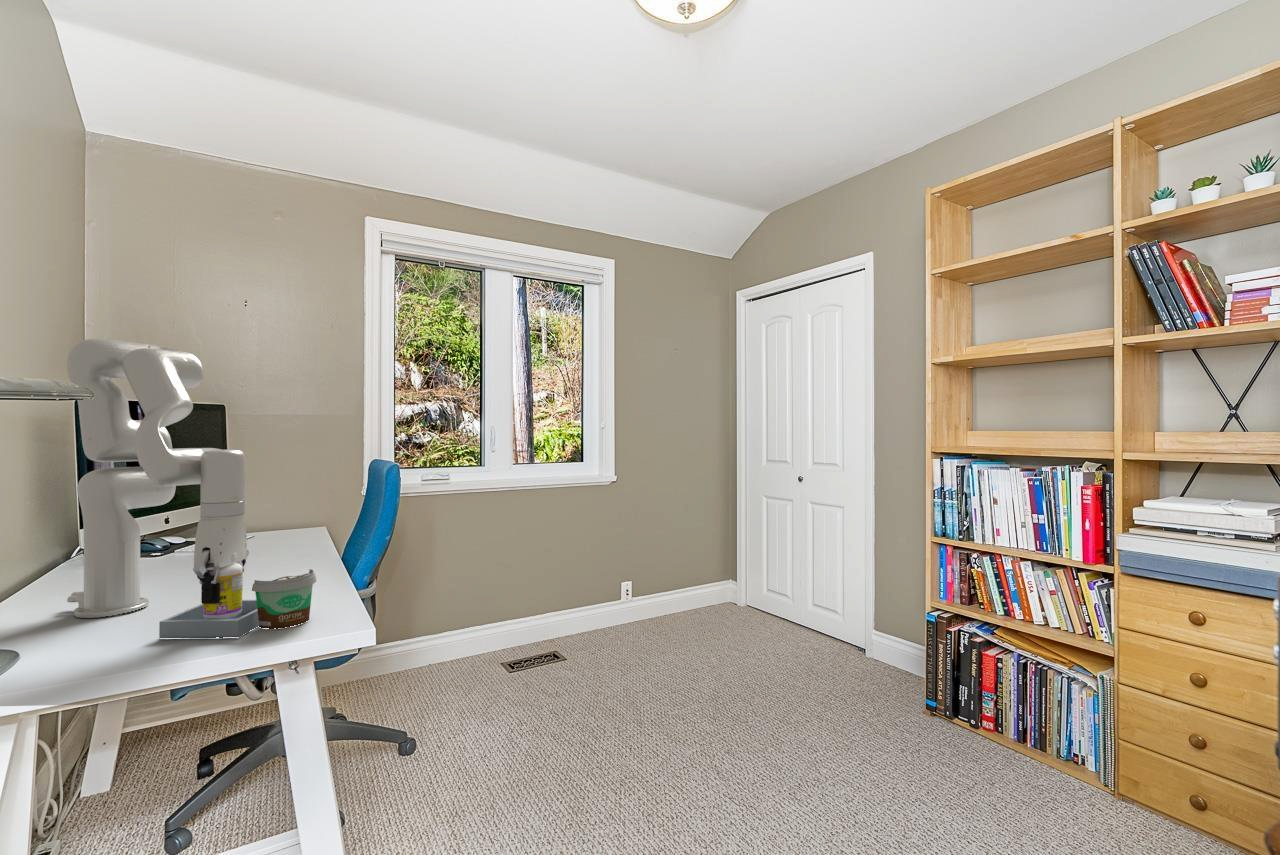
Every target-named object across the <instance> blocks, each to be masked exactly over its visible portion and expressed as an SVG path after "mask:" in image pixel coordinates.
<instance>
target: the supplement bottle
mask: <svg viewBox="0 0 1280 855" xmlns="http://www.w3.org/2000/svg"><path fill="white" fill-rule="evenodd" d="M236 558H237V553H233V554H232V557H231V561H232V562H231V564H230V565H228V566H226V567H224V568H221V570H220V574H219V578H218V581H217V583H220V602H219V603H217V604H203V617H204V618H205V619H208V620H220V619H227V618H231V617H234V616H237V615H238V614H240V613H241V611H242V600H243V578H242V574H243V573H244V572H243V571H242V566H241V565H240V564H238V563H236V561H235V559H236ZM209 567H214V565H210V566H209ZM213 572H214V571H209V573H210V574H211V575H212V576H213ZM242 572H243V573H242Z"/></svg>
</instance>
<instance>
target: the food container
mask: <svg viewBox="0 0 1280 855" xmlns="http://www.w3.org/2000/svg"><path fill="white" fill-rule="evenodd" d="M314 571H315V570H313V569H311V568H309V571H308V573H304V574H300V575H290V576H289V575H288V576H282V577H279V578H276V579H273V580H259V579H258V580H256V579H255V580H254V582H253V584H252V587H251V591H252V592H255V593H254V594H255V600H256V602H257V610H258V619H259V627H261V628H269V629H274V628H276V629H278V628H285V627H290V626H294V625H298V624H301V623H304V622H306V621H308V620H309V621H310V613H311V605H312V595H313V586H314V584H315V583H316V582H317V575H316V573H315V572H314ZM309 621H308V622H309ZM306 623H307V622H306ZM304 624H305V623H304ZM259 627H258V628H259ZM278 630H279V629H278Z"/></svg>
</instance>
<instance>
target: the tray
mask: <svg viewBox="0 0 1280 855" xmlns="http://www.w3.org/2000/svg"><path fill="white" fill-rule="evenodd" d="M258 626H259V619H258V610H257V602H256V599H242V611H241V613H240V614H238V615H237V616H234V617H231V618H227V619H220V620H208V619H205V618H204V617H203V604H202V603H200V604H198V605H195V606H193V607H191V608H188V609H186V610H184V611H180V612H179V613H177V614H175V615H172V616H170V617H167V618H164V619H163V620H160V621H159V628H158V630H159V632H158V633H159V636H158V638H216V637H219V638H223V637H240V636H242V635H243V634H245V633H247V632H249V631H250V630H252V629H254V628H256V627H258ZM258 628H259V627H258ZM256 629H257V628H256ZM249 633H250V632H249ZM242 637H243V636H242ZM240 638H241V637H240Z"/></svg>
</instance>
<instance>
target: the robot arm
mask: <svg viewBox="0 0 1280 855" xmlns="http://www.w3.org/2000/svg"><path fill="white" fill-rule="evenodd" d="M66 359H67V360H66V371H67V372H66V373H67V376H68V379H69V383H70V384H71V383H74V384H78V385H81V386H84V387H86V388H88V389H90V390H91V391H92V392H93V393H94V398H93V399H83V400H76V401H77V406H78V415H79V416H78V417H79V426H80V434H81V435H80V436H81V445H82V448H83V452H84V455H85V456H86V458H87V459H88V460H90V461H93V462H100V463H119V462H120V463H121V462H138V464H139V466H122V467H119V466H118V467H106V468H105V467H104V468H99V469H95V470H92V471H88V472H87V473H86V474H84V475H83V476H82V477H81V478H80V480H79V481H78V484H77V497H78V500H79V506H80V509H81V510H80V511H81V516H82V524H83V526H82V527H83V591H73V592H72V593H71V594H70V596H68V597H66V598H67V599H66V601H67V603H78V606H77V608H75V609H74V610H73V616H74V617H75V618H81V619H97V618H105V617H106V616H108V617H113V616H112V615H114V616H119V615H118V614H120V615H123V614H122V613H125V614H128V613H127V612H130V613H132V612H131V611H133V612H136V611H135V610H137V611H139V610H138V609H140V610H142V609H141V608H143V609H144V607H145V608H146V607H148V606H149V605H148V604H150V602H149V599H148V598H146V597H141V530H140V529H141V528H140V526H139V524H138V522H137V520H136V519H135V517H134V516H132V514H131V513H130V512H129V510H133V509H140V508H143V509H144V508H151V507H158V506H162V505H165V504H167V503H169V502H170V501H171V500H173V498H174V497H175V493H176V489H177V487H179V486H190V485H199V486H200V489H199V490H200V498H199V499H200V500H199V502H200V503H199V504H200V508H199V509H200V514H199V517H200V518H199V520H198V523H197V527H196V533H195V541H194V548H193V549H194V551H193V568H192V571H193V572H194V574H195V575H196V576H197V579H198V580H199V581H198V582H199V584H200V586H201V597H200V599H201V601H200V603H201V604H217V603H219V602H220V583H217V581H218V578H219V574H220V570H221V568H224V567H226V566H228V565H230V564H231V562H232V561H231V557H232V554H233V553H237V558H236V559H235V561H236V563H238V564H240V565H241V566H242V571H243V572H242V579H243V574H244V572H245V565H246V563H247V561H246V560H247V559H248V557H249V554H250V552H249V550H248V549H247V547H248V545H247V544H248V543H247V540H248V538H247V528H246V519H245V516H246V455H245V453H244V452H243V451H242V450H238V449H221V448H214V447H187V448H186V447H185V448H182V447H181V448H179V447H178V448H173V444H172V438H171V434H170V433H169V431H168V429H167V428H166V427H168V426H170V425H174V424H175V423H178V422H180V421H182V420H183V419H185V418H186V417H187V416H189V415H190V414H191V413H192V411H193V409H194V403H193V401H192V399H191V397H190V395H189V393H188V391H187V390H192V389H195V388H197V387H199V385H200V384H202V382H203V379H204V375H205V374H204V373H205V372H204V367H203V365H202V362H201V361H200V360H199V358H198V357H196V356H195V355H194V354H192V353H190V352H188V351H183V350H179V349H174V348H170V347H167V346H161V345H158V344H157V345H156V344H151V343H150V344H148V343H140V342H132V341H126V340H117V339H109V338H108V339H107V338H87V339H83V340H82V339H81V340H79V341H78V342H76V343H75V344H73V345H72V346H71V348H70V350H69V352H68V354H67V358H66ZM111 379H120V380H121V379H123V380H127V381H128V383H129V386H130V387H131V390H132V392H133V394H134V395H135V398H136V400H137V402H138V404H139V406H140V408H141V409H142V412H143V414H144V417H143V419H141V420H139V419H138V420H137V419H136V420H134V419H132V417H131V413H130V406H129V404H130V403H129V400H128V398H127V396H126V394H125V393H124V392H123V391H122V390H121V388H120V387H119V386H118V385H117V384H116V383H114V382H113V381H112V380H111ZM210 565H214V567H209V566H210ZM209 571H214V572H213V576H212V575H211V574H210V573H209Z"/></svg>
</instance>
